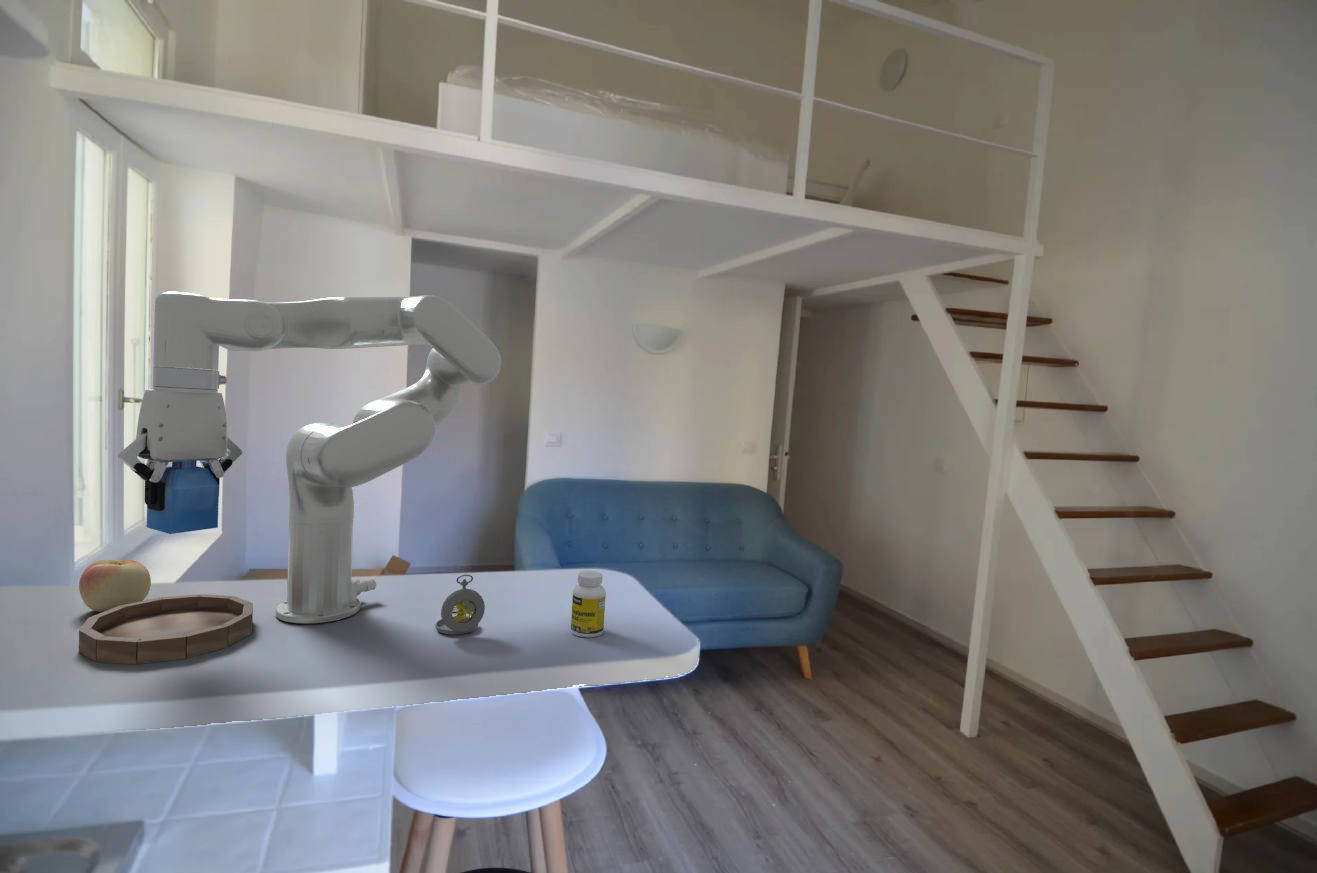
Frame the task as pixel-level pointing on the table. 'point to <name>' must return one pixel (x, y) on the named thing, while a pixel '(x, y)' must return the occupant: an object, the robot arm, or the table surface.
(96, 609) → the apple
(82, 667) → the table surface
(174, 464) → the perfume bottle
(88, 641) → the walnut tray
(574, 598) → the supplement bottle
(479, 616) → the pocket watch
